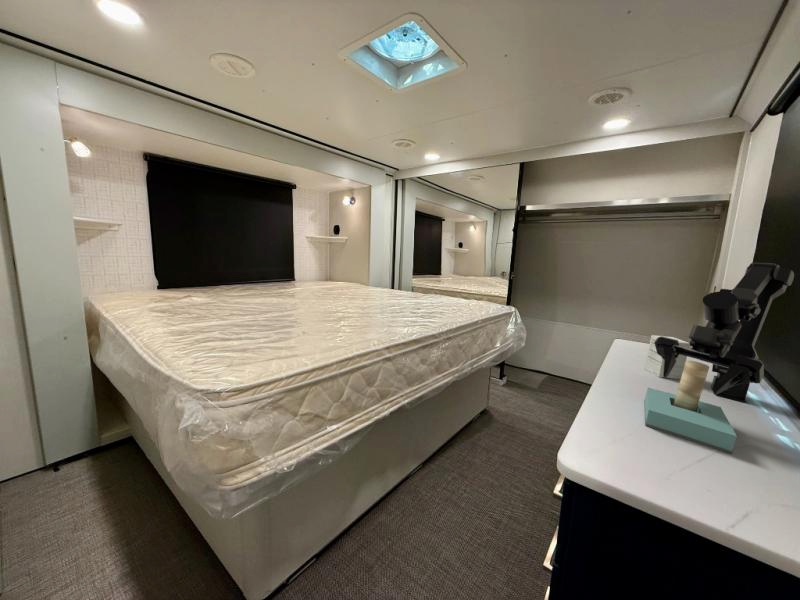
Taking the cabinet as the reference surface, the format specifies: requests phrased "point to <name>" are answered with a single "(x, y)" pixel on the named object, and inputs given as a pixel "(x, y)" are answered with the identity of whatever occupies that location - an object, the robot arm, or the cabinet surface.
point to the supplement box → (657, 363)
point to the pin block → (689, 421)
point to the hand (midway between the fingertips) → (688, 384)
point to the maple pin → (691, 385)
